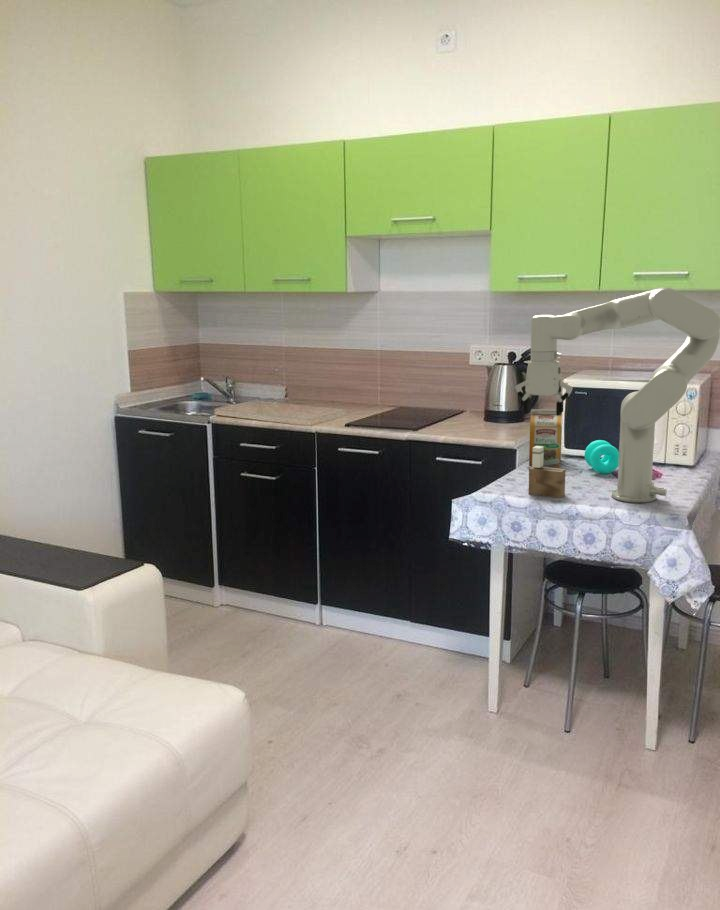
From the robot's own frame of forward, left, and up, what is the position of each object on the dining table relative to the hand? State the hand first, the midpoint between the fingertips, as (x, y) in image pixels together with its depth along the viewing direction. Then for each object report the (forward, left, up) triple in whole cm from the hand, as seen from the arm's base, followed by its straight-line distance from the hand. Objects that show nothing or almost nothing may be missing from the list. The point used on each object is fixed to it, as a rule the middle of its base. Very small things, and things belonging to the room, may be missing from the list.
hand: (543, 413), depth 239 cm
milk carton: (+12, -39, -25) cm, 47 cm away
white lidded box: (+1, +1, -16) cm, 16 cm away
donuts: (-9, -35, -25) cm, 43 cm away
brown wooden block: (-2, +1, -25) cm, 25 cm away
